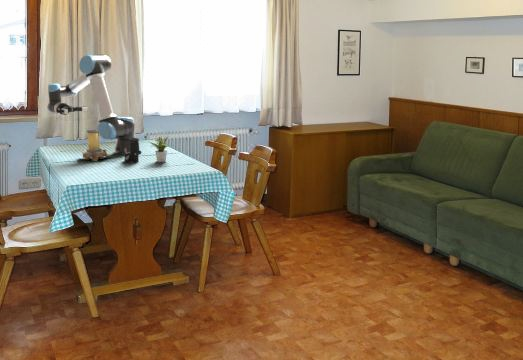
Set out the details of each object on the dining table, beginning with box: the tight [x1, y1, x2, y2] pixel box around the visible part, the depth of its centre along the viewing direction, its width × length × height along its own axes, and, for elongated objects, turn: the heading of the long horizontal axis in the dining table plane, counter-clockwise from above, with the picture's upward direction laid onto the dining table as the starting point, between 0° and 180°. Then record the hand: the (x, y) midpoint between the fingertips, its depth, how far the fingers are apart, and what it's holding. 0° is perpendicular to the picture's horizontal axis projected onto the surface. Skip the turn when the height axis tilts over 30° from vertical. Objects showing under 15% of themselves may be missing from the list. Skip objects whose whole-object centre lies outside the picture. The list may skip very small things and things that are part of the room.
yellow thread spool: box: [86, 129, 103, 153], centre depth 393 cm, size 9×9×13 cm
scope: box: [123, 137, 142, 164], centre depth 387 cm, size 8×14×10 cm
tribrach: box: [81, 149, 108, 162], centre depth 395 cm, size 14×14×5 cm
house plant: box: [147, 135, 171, 163], centre depth 389 cm, size 14×14×16 cm
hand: (77, 110), depth 400 cm, fingers open, 13 cm apart
